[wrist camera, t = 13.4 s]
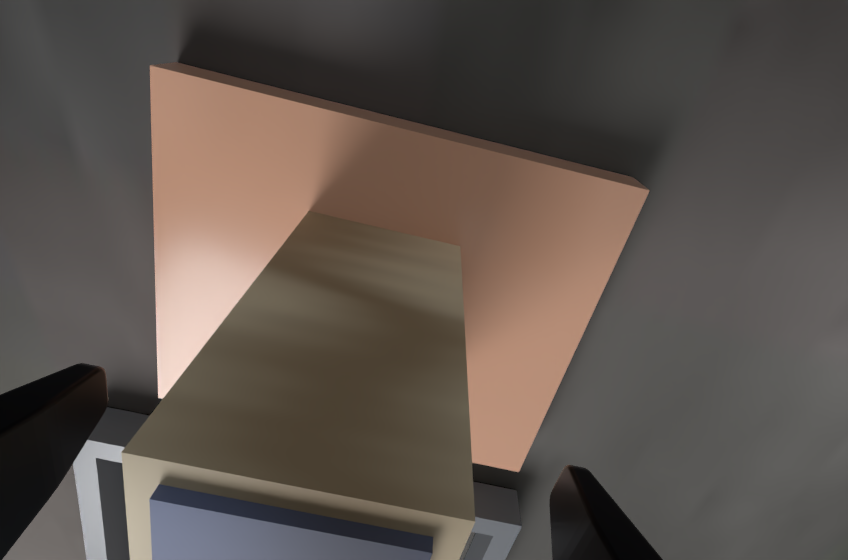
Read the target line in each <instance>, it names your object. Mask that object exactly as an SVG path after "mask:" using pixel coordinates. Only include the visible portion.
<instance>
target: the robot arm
mask: <svg viewBox="0 0 848 560" xmlns="http://www.w3.org/2000/svg"><path fill="white" fill-rule="evenodd" d="M107 405H108V391H107V380H106V372H105V370H104V369H103V368H101V367H99V366H94V365H89V364H84V363H80V364H76V365H73V366H71V367H68V368H66V369H63V370H61V371H58V372H56V373H53V374H51V375H48V376H46V377H43V378H41V379H38V380H36V381H33V382H31V383H28V384H26V385H23V386H21V387H18V388H16V389H13V390H11V391H8V392H6V393H3V394H1V395H0V560H2V559H3V558H4V556H5V555H6V554H7V552H8V551H9V550H10V548H11V547H12V546H13V545H14V543H15V542H16V541H17V539H18V538H19V537H20V536H21V534H22V533H23V532H24V530H25V529H26V528H27V527H28V525H29V524H30V523H31V521H32V520H33V519H34V517H35V516H36V515H37V514H38V512H39V511H40V510H41V508H42V507H43V506H44V505H45V503H46V502H47V501H48V499H49V498H50V497H51V495H52V494H53V493H54V491H55V490H56V489H57V487H58V486H59V484H60V483H61V481H62V480H63V478H64V477H65V475H66V474H67V472H68V470H69V469H70V467H71V466H72V464H73V462H74V461H75V459H76V458H77V456H78V454H79V453H80V451H81V450H82V448H83V446H84V445H85V443H86V442H87V440H88V438H89V437H90V435H91V434H92V432H93V430H94V429H95V427H96V426H97V424H98V422H99V421H100V419H101V418H102V416H103V414H104V413H105V411H106V408H107ZM550 520H551V539H552V558H553V560H663V559H662V558H661V557H660V556H659V555H658V553H657V552H656V551H655V550H654V549H653V547H652V546H651V545H650V544H649V542H648V541H647V540H646V539H645V538H644V536H643V535H642V534H641V533H640V532H639V530H638V529H637V528H636V527H635V526H634V524H633V523H632V522H631V521H630V519H629V518H628V517H627V516H626V515H625V513H624V512H623V511H622V510H621V509H620V507H619V506H618V505H617V504H616V503H615V501H614V500H613V499H612V498H611V496H610V495H609V494H608V493H607V492H606V490H605V489H604V488H603V487H602V486H601V484H600V483H599V482H598V481H597V480H596V478H595V477H594V476H593V475H592V473H591V472H590V471H589V470H587V469H586V468H582V467H577V466H573V465H567V466H566V467H564V469H563V470H562V472H561V474H560V476H559V478H558V480H557V482H556V484H555V486H554V488H553V490H552V492H551V495H550Z"/></svg>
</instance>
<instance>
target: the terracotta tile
mask: <svg viewBox="0 0 848 560" xmlns="http://www.w3.org/2000/svg"><path fill="white" fill-rule="evenodd" d="M150 90H151V130H152V170H153V210H154V250H155V290H156V330H157V370H158V398H162V399H163V398H164V397H165V395H166V394H167V393H168V392H169V390H170V389H171V388H172V386H173V385H174V384H175V383H176V381H177V380H178V379H179V377H180V376H181V375H182V374H183V372H184V371H185V370H186V368H187V367H188V366H189V364H190V363H191V362H192V361H193V359H194V358H195V357H196V355H197V354H198V353H199V352H200V350H201V349H202V348H203V346H204V345H205V344H206V343H207V341H208V340H209V339H210V337H211V336H212V335H213V334H214V332H215V331H216V330H217V328H218V327H219V326H220V325H221V323H222V322H223V321H224V319H225V318H226V317H227V316H228V314H229V313H230V312H231V310H232V309H233V308H234V307H235V305H236V304H237V303H238V301H239V300H240V299H241V297H242V296H243V295H244V294H245V292H246V291H247V290H248V288H249V287H250V286H251V285H252V283H253V282H254V281H255V279H256V278H257V277H258V276H259V274H260V273H261V272H262V270H263V269H264V268H265V267H266V265H267V264H268V263H269V261H270V260H271V259H272V258H273V256H274V255H275V254H276V252H277V251H278V250H279V249H280V247H281V246H282V245H283V243H284V242H285V241H286V240H287V238H288V237H289V236H290V234H291V233H292V232H293V230H294V229H295V228H296V227H297V225H298V224H299V223H300V221H301V220H302V219H303V218H304V216H305V215H306V214H307V212H308V211H311V212H316V213H320V214H324V215H328V216H333V217H337V218H341V219H346V220H350V221H354V222H358V223H363V224H367V225H371V226H376V227H380V228H384V229H388V230H393V231H397V232H401V233H406V234H410V235H414V236H418V237H423V238H427V239H431V240H436V241H440V242H444V243H449V244H453V245H457V246H460V248H461V267H462V285H463V304H464V322H465V341H466V359H467V378H468V396H469V415H470V433H471V452H472V463H477V464H482V465H487V466H491V467H496V468H501V469H506V470H511V471H516V472H519V471H520V469H521V466H522V464H523V462H524V460H525V458H526V456H527V454H528V451H529V449H530V447H531V445H532V443H533V441H534V438H535V436H536V434H537V432H538V430H539V428H540V426H541V423H542V421H543V419H544V417H545V415H546V413H547V410H548V408H549V406H550V404H551V402H552V400H553V398H554V395H555V393H556V391H557V389H558V387H559V385H560V383H561V380H562V378H563V376H564V374H565V372H566V370H567V367H568V365H569V363H570V361H571V359H572V357H573V355H574V352H575V350H576V348H577V346H578V344H579V342H580V339H581V337H582V335H583V333H584V331H585V329H586V327H587V324H588V322H589V320H590V318H591V316H592V314H593V312H594V309H595V307H596V305H597V303H598V301H599V299H600V296H601V294H602V292H603V290H604V288H605V286H606V284H607V281H608V279H609V277H610V275H611V273H612V271H613V268H614V266H615V264H616V262H617V260H618V258H619V256H620V253H621V251H622V249H623V247H624V245H625V243H626V241H627V238H628V236H629V234H630V232H631V230H632V228H633V225H634V223H635V221H636V219H637V217H638V215H639V213H640V210H641V208H642V206H643V204H644V202H645V200H646V197H647V195H648V193H649V191H650V190H649V189H647V188H646V187H645V186H643V185H642V184H641V183H640V182H638V181H637V180H636V179H635V178H633V177H630V176H626V175H622V174H618V173H614V172H610V171H606V170H602V169H598V168H595V167H591V166H587V165H583V164H579V163H575V162H571V161H567V160H563V159H559V158H555V157H551V156H547V155H543V154H539V153H535V152H531V151H527V150H523V149H519V148H515V147H511V146H507V145H503V144H499V143H495V142H491V141H487V140H483V139H479V138H475V137H471V136H467V135H463V134H459V133H455V132H452V131H448V130H444V129H440V128H436V127H432V126H428V125H424V124H420V123H416V122H412V121H408V120H404V119H400V118H396V117H392V116H388V115H384V114H380V113H376V112H372V111H368V110H364V109H360V108H356V107H352V106H348V105H344V104H340V103H336V102H332V101H328V100H324V99H320V98H316V97H312V96H309V95H305V94H301V93H297V92H293V91H289V90H285V89H281V88H277V87H273V86H269V85H265V84H261V83H257V82H253V81H249V80H245V79H241V78H237V77H233V76H229V75H225V74H221V73H217V72H213V71H209V70H205V69H201V68H197V67H193V66H189V65H185V64H181V63H177V62H174V63H165V64H157V65H150Z"/></svg>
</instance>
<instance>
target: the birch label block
mask: <svg viewBox="0 0 848 560" xmlns="http://www.w3.org/2000/svg"><path fill="white" fill-rule="evenodd" d="M121 455H122V467H123V480H124V492H125V505H126V517H127V530H128V542H129V555H130V560H459V558H460V556H461V554H462V551H463V549H464V547H465V545H466V542H467V540H468V538H469V535H470V533H471V531H472V528H473V526H474V524H475V507H474V489H473V470H472V452H471V433H470V415H469V396H468V378H467V359H466V341H465V322H464V304H463V285H462V267H461V248H460V246H457V245H453V244H449V243H444V242H440V241H436V240H431V239H427V238H423V237H418V236H414V235H410V234H406V233H401V232H397V231H393V230H388V229H384V228H380V227H376V226H371V225H367V224H363V223H358V222H354V221H350V220H346V219H341V218H337V217H333V216H328V215H324V214H320V213H316V212H311V211H308V212H307V214H306V215H305V216H304V218H303V219H302V220H301V221H300V223H299V224H298V225H297V227H296V228H295V229H294V230H293V232H292V233H291V234H290V236H289V237H288V238H287V240H286V241H285V242H284V243H283V245H282V246H281V247H280V249H279V250H278V251H277V252H276V254H275V255H274V256H273V258H272V259H271V260H270V261H269V263H268V264H267V265H266V267H265V268H264V269H263V270H262V272H261V273H260V274H259V276H258V277H257V278H256V279H255V281H254V282H253V283H252V285H251V286H250V287H249V288H248V290H247V291H246V292H245V294H244V295H243V296H242V297H241V299H240V300H239V301H238V303H237V304H236V305H235V307H234V308H233V309H232V310H231V312H230V313H229V314H228V316H227V317H226V318H225V319H224V321H223V322H222V323H221V325H220V326H219V327H218V328H217V330H216V331H215V332H214V334H213V335H212V336H211V337H210V339H209V340H208V341H207V343H206V344H205V345H204V346H203V348H202V349H201V350H200V352H199V353H198V354H197V355H196V357H195V358H194V359H193V361H192V362H191V363H190V364H189V366H188V367H187V368H186V370H185V371H184V372H183V374H182V375H181V376H180V377H179V379H178V380H177V381H176V383H175V384H174V385H173V386H172V388H171V389H170V390H169V392H168V393H167V394H166V395H165V397H164V398H163V399H162V401H161V402H160V403H159V404H158V406H157V407H156V408H155V410H154V411H153V412H152V413H151V415H150V416H149V417H148V419H147V420H146V421H145V422H144V424H143V425H142V426H141V428H140V429H139V430H138V431H137V433H136V434H135V435H134V437H133V438H132V439H131V440H130V442H129V443H128V444H127V446H126V447H125V448H124V450H123V451H122V452H121Z"/></svg>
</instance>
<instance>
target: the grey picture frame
mask: <svg viewBox="0 0 848 560" xmlns="http://www.w3.org/2000/svg"><path fill="white" fill-rule="evenodd" d="M148 417H149V415H144V414H139V413H134V412H129V411H124V410H120V409H115V408H110V407H107V408H106V411H105V413H104V414H103V416H102V418H101V419H100V421H99V422H98V424H97V426H96V427H95V429H94V430H93V432H92V434H91V435H90V437H89V438H88V440H87V442H86V443H85V445H84V446H83V448H82V450H81V451H80V453H79V454H78V456H77V458H76V459H75V461H74V462H73V466H74V473H75V480H76V487H77V494H78V502H79V509H80V516H81V523H82V530H83V537H84V544H85V551H86V558H87V560H130V555H129V542H128V530H127V517H126V505H125V492H124V480H123V467H122V455H121V452H122V451H123V450H124V448H125V447H126V446H127V444H128V443H129V442H130V440H131V439H132V438H133V437H134V435H135V434H136V433H137V431H138V430H139V429H140V428H141V426H142V425H143V424H144V422H145V421H146V420H147V419H148ZM473 489H474V507H475V524H474V526H473V528H472V531H471V532H475V536H474V538H473V540H472V542H471V545H470V547H469V549H468V551H467V554H466V556H465V558H464V560H505V559H506V557H507V555H508V553H509V551H510V549H511V547H512V545H513V543H514V541H515V539H516V537H517V535H518V533H519V531H520V529H521V527H522V523H521V517H520V510H519V503H518V496H517V490H512V489H507V488H502V487H497V486H492V485H488V484H483V483H478V482H473Z"/></svg>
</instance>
